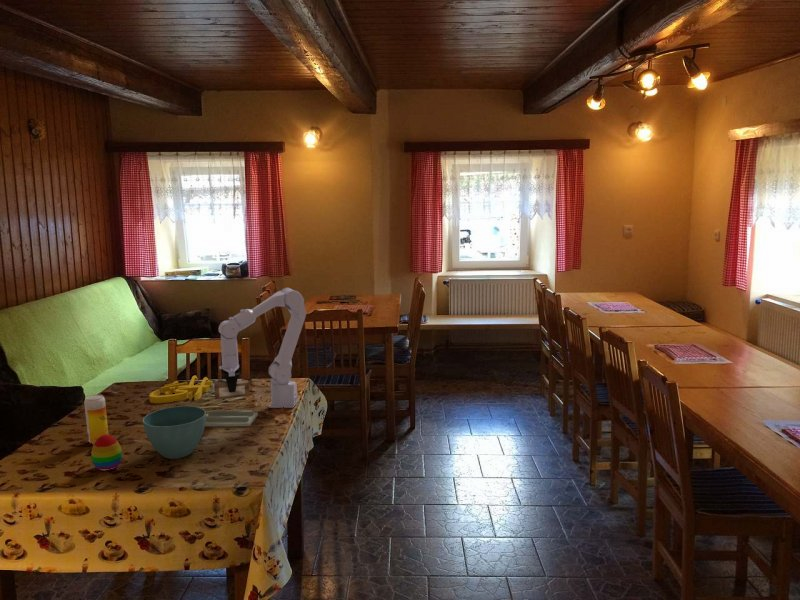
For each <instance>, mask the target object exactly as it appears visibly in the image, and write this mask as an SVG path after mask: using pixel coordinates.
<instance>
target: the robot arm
mask: <svg viewBox="0 0 800 600" xmlns="http://www.w3.org/2000/svg"><path fill="white" fill-rule="evenodd" d="M276 307H286V309H287V310H288V312H289V313H290V318H289V322H288V324H287V327H286V330H285V333H284V336H283V338H282V342H281V345H280V348H279V352H278V354H277V355H276V356H275V357H274V360H273V362H272V363H271V364H270V365H269V367H268V375H269V376H270V377H271V379H270V393H271V394H270V396H271V402H270V404H269V406H268V409H269V408H270V409H271V408H272V409H279V408H280V409H281V408H282V409H292V408H293V407H294V406H297V405H296V404H297V403H298V402H299V400H298V387H297V382H296V381H291V379H292V368H293V363H292V359H293V355H294V353H295V350H296V346H297V344H298V341H299V338H300V336H301V335H300V334H301V332H302V329H303V325H304V323H305V320H306V316H307V311H306V305H305V298H304V297H303V295H302V294H301V293H300V292H299V291H298V290H294V289H292V288H290V287H284V288H282V289H281V290H279V291H276V292H275V293H273V294H272V295H271V296H269V297H268V298H267V299H265V300H264V301H262V302H260V303H259V304H258V305H256V306H254V307H253V308H251V309H249V308H246V309H244V308H243V309H240V310H239V312H238V313H237V314H236V315H233V316H230V317H228V320H223V321H222V322H220V324H219V325H218V330H217V331H218V332H219V334H220V351H221V353H220V354H221V366H219V367H218V369H219V370H222V376H223V378H224V380H225V382H227V385H228V390H229V392H230V393H232V392H235V391H236V385H237V381H239V380H238V379H239V377H240V374H241V373H240V372H239V368H240V364H239V351H238V350H239V349H238V340H237V336H238V334H239V332H242V330H245V329H246V328H248V327H249V326H250V325H253V324H254V323H255V322H256V319H257V318H258V317H259V316H261V315H263V314H264V313H267V312H268V311H270V310H272V309H273V308H276ZM297 401H298V402H297ZM283 407H284V408H283ZM294 408H295V407H294Z"/></svg>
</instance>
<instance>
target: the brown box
mask: <svg viewBox="0 0 800 600" xmlns="http://www.w3.org/2000/svg"><path fill="white" fill-rule="evenodd" d="M249 383H250V382H249V380H248V379H245V380H237V385H236V391H235V392H232V393H230V392H229V390H228V385H227V382H226V381H225V382H216V383H215V382H214V383H213V388H214V389H213V390H214V400H225V399H233V398H242V397H244V398H245V397H250V384H249Z"/></svg>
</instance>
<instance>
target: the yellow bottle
mask: <svg viewBox="0 0 800 600" xmlns="http://www.w3.org/2000/svg"><path fill="white" fill-rule="evenodd" d="M83 403H84V405H83V406H84V412H85V413H84V414H85V422H86V424H85V425H86V432H87V439H88V440H87V441H88V442H89V443H90V444H91V443H92V444H91V445H94V443H95V442H96V440H97V439H98V438H99V437H100V436H102V435H105V434H107V435H109V426H108V425H109V424H108V416H107V408H106V407H107V405H106V398H105V397H104V395H103V394H94V395H93V394H92V395H88V396H86V397H85V399H84V402H83Z"/></svg>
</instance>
